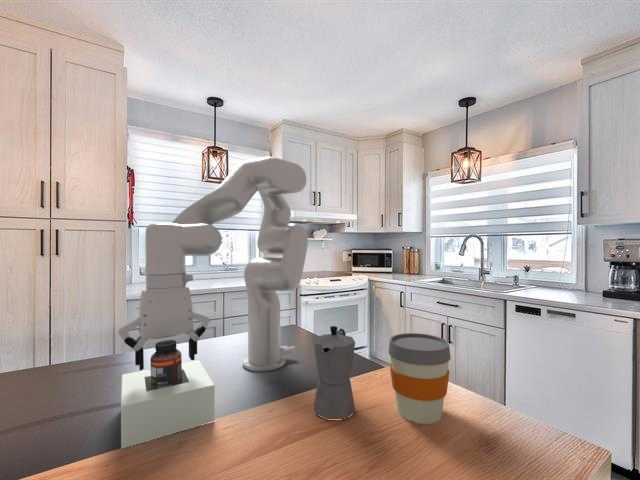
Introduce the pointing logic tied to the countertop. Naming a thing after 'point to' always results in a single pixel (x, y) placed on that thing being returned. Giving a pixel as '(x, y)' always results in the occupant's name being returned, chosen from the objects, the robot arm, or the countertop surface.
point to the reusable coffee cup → (419, 375)
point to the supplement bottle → (166, 365)
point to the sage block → (165, 404)
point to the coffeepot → (334, 374)
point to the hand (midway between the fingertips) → (167, 362)
